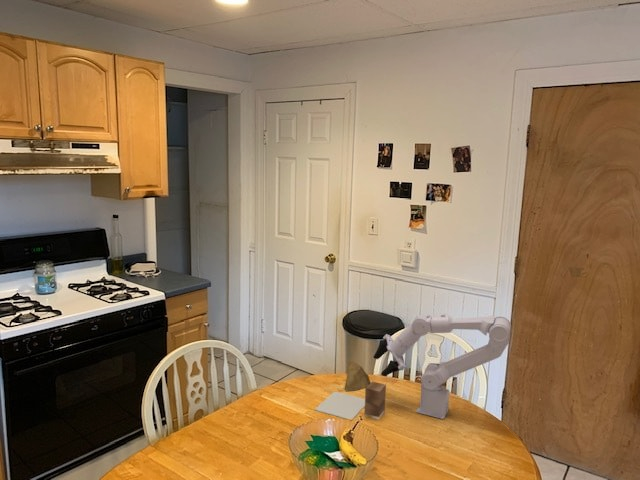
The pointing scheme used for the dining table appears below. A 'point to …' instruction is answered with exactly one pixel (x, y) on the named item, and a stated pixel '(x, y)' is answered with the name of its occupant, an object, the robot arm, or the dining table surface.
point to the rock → (356, 377)
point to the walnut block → (375, 400)
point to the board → (341, 405)
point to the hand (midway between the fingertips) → (379, 366)
